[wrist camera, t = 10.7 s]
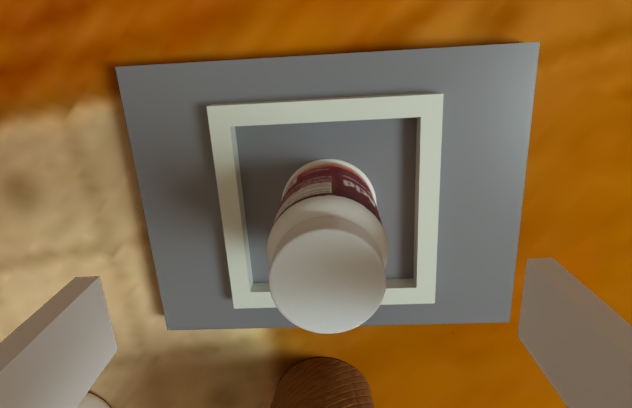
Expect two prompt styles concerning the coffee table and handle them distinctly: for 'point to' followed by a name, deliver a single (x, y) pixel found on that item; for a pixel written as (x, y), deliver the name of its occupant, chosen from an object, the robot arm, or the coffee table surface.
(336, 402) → the disposable coffee cup
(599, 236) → the coffee table surface
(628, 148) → the coffee table surface
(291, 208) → the pill bottle
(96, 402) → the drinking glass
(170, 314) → the socket plate
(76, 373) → the robot arm
